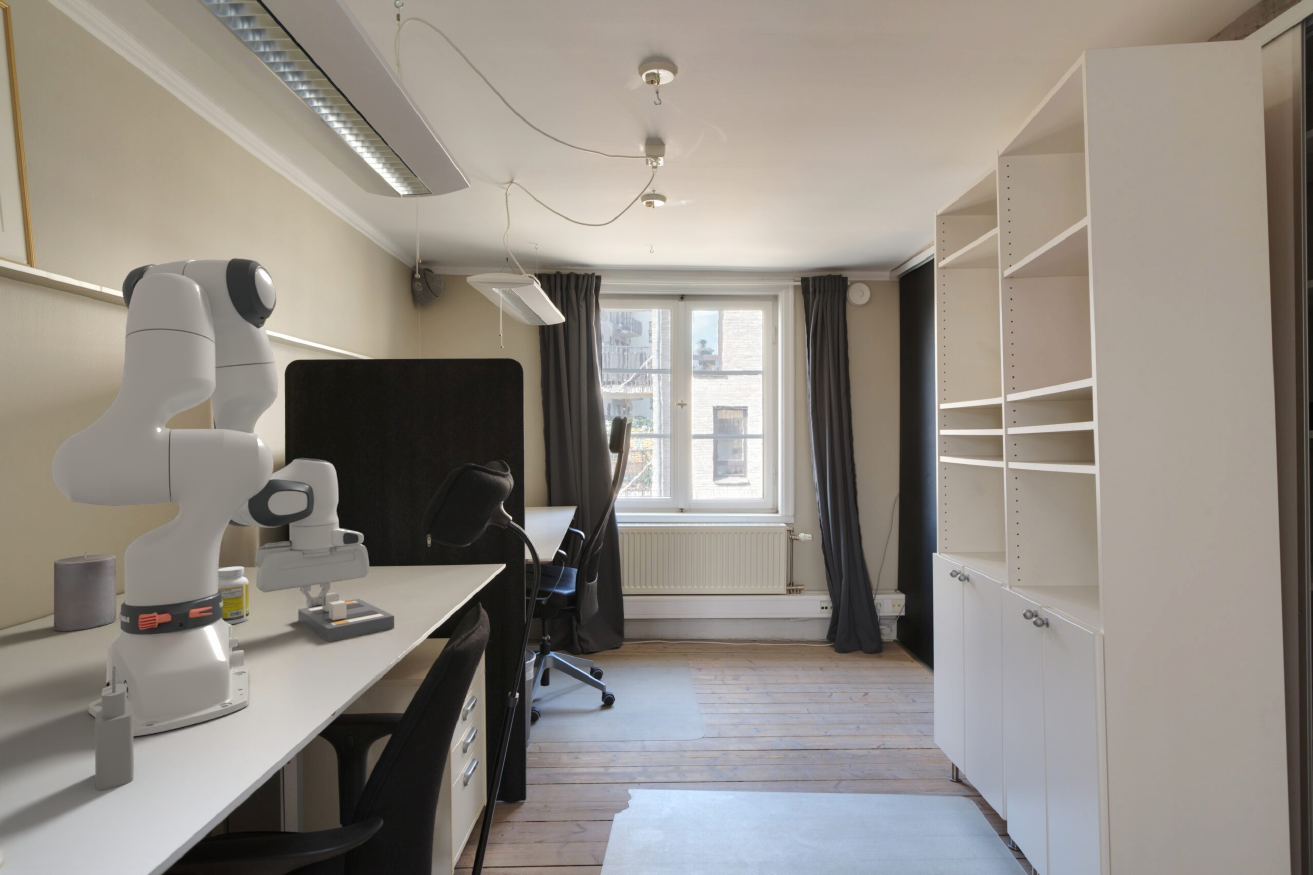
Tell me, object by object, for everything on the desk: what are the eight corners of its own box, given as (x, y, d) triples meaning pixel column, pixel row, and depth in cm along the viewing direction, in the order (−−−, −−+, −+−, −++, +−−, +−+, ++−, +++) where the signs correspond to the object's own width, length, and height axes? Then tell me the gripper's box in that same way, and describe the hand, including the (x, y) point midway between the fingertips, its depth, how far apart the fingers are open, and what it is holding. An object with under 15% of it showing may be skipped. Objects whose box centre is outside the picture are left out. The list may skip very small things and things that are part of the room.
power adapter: (133, 762, 74) (132, 658, 74) (133, 781, 69) (131, 671, 69) (97, 771, 72) (96, 664, 72) (95, 792, 67) (93, 678, 67)
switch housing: (394, 627, 126) (394, 615, 126) (328, 641, 118) (328, 628, 118) (358, 609, 141) (358, 598, 141) (298, 620, 132) (298, 608, 132)
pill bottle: (230, 617, 136) (229, 565, 136) (256, 617, 136) (255, 565, 136) (205, 625, 130) (205, 571, 130) (233, 626, 129) (232, 571, 129)
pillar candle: (65, 622, 135) (64, 550, 135) (123, 616, 139) (122, 546, 139) (44, 634, 126) (44, 558, 126) (107, 627, 130) (106, 553, 130)
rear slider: (338, 609, 131) (338, 594, 131) (326, 611, 129) (326, 596, 129) (334, 607, 133) (334, 592, 133) (322, 609, 131) (322, 594, 131)
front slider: (346, 617, 125) (346, 602, 125) (333, 620, 123) (332, 604, 123) (342, 615, 126) (341, 600, 126) (328, 617, 125) (328, 602, 125)
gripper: (259, 546, 120) (260, 619, 120) (371, 534, 134) (372, 599, 134) (251, 542, 125) (252, 613, 125) (360, 531, 139) (361, 594, 139)
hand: (315, 606), depth 129 cm, fingers closed
